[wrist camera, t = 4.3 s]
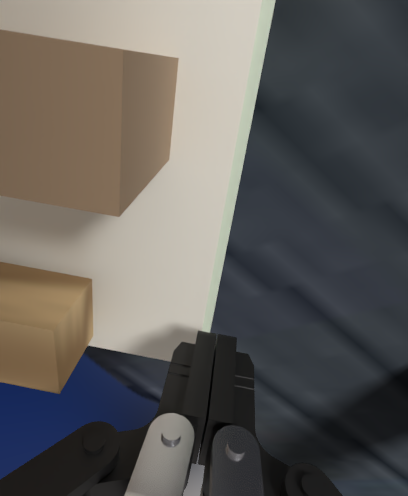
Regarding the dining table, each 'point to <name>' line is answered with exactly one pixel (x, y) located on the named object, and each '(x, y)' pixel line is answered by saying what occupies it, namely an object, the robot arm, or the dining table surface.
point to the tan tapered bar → (42, 325)
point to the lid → (123, 152)
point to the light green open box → (239, 152)
